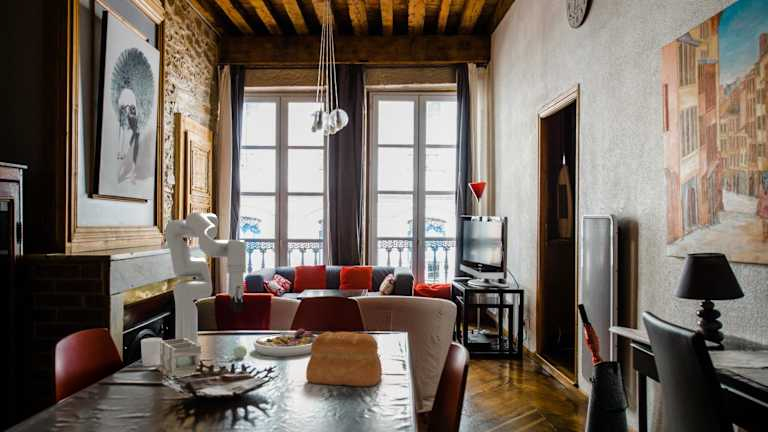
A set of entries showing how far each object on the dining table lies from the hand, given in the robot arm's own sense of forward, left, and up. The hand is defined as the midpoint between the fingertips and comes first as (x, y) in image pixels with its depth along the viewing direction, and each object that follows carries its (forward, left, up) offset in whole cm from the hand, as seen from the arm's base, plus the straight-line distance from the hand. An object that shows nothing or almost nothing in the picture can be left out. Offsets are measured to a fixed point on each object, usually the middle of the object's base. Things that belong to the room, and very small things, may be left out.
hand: (236, 310), depth 215 cm
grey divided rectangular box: (+1, -23, -21) cm, 31 cm away
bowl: (-4, +26, -22) cm, 34 cm away
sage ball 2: (-3, +3, -18) cm, 19 cm away
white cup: (-17, -29, -21) cm, 40 cm away
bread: (+52, +20, -21) cm, 60 cm away
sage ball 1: (+6, -23, -17) cm, 29 cm away
